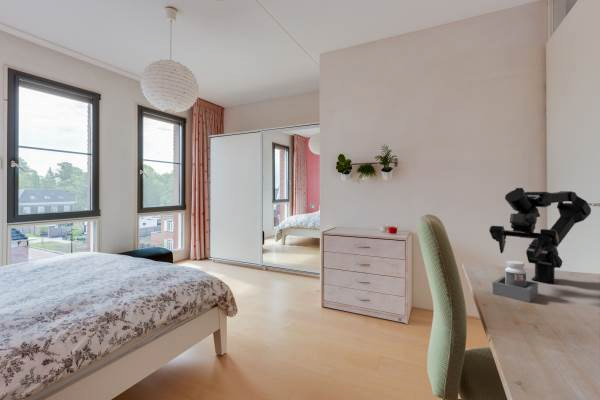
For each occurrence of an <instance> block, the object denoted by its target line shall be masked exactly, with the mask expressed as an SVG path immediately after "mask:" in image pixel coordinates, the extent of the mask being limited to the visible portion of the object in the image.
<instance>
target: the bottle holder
mask: <svg viewBox="0 0 600 400" xmlns="http://www.w3.org/2000/svg"><path fill="white" fill-rule="evenodd" d="M492 294H493V295H496V296H501V297H504V298H509V297H510V298H509V299H513V298H514V300H517V299H518V301H522V302H527V303H531V301H533V300H534V299H535V298H536V297H537V296H538V295H539V282H537V281H530V280H526V288H522V287H517V286H512V285H508V284H505V275H502V276H500V277H498V278H497V279H495V280H493V282H492Z"/></svg>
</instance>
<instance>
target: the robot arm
mask: <svg viewBox="0 0 600 400" xmlns="http://www.w3.org/2000/svg"><path fill="white" fill-rule="evenodd" d="M504 196H505V197H504V199H505V201H506V202H507V203H508V205H509V206H510V207H511V208H512V210H513V211H514V212H517V213H510V216H509V217H510V218H509V223H510V228H511V229H512V230H511V229H510V230H509V229H505V227H504V225H491V226H489V229H488V231H489V235H490V236H491V238H492V239H493V240H495V241H496V242H498V245H499V246H498V247H499V251H500V254H503V253H504V251H505V246H506V243H507V241H506V239H507V237H516V238H520V239H521V238H522V239H531V240H532V241H531V243H529V244H528V247H527V249H526V251H525V254H526V257H527V260H528V261H527V262H528V263H529V264H534V276H533V277H532V278H531V280H532V281H534V282H540V283H541V282H542V283H546V284H551V285H555V284H556V282H558V278H556V277H555V268H557V269H561V267H562V265H563V260H562V258H561V257H560V255H559V251H558V246H559V245H560V244H561V243H562V241H563V240H564V239H565V238H566V236H568V233H569V232H570V231H571V229H572V228H573V227H574V225H576V224H578V223H580V222H584V220H586V219H587V218H588V217H589V216H590V215H591V213H592V208H591V207H590V205H589V203H588V201H587V200H585V199H583V198H582V197H580V196H578V195H577V193H576V192H575V191H572V190H571V191H570V190H569V191H564V190H563V191H562V190H560V191H557V192H548V191H526V192H525V189H524V188H523V187H516V188H515V189H513V190H511V191H509V192H507V193H506V195H504ZM564 202H565V203H564ZM554 203H557V205H556V208H557V210H558V212H559V218H557V220H556V221H555V223H554V224H553V225H552V227H551V228H550V229H549V228H548V229H546V228H541V229H540V232H534V231H535V229H536V224H537V220H538V218H540V217H541V214H540V212H539V208H547V207H549V206H551V205H552V204H554Z"/></svg>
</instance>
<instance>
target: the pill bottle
mask: <svg viewBox="0 0 600 400" xmlns="http://www.w3.org/2000/svg"><path fill="white" fill-rule="evenodd" d="M506 265H507V267H506V268H505V269H504V276H505V284H508V285H512V286H517V287H522V288H526V281H527V271H526V270H525V268H524V267H525V262H523V261H519V260H507V261H506Z"/></svg>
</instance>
